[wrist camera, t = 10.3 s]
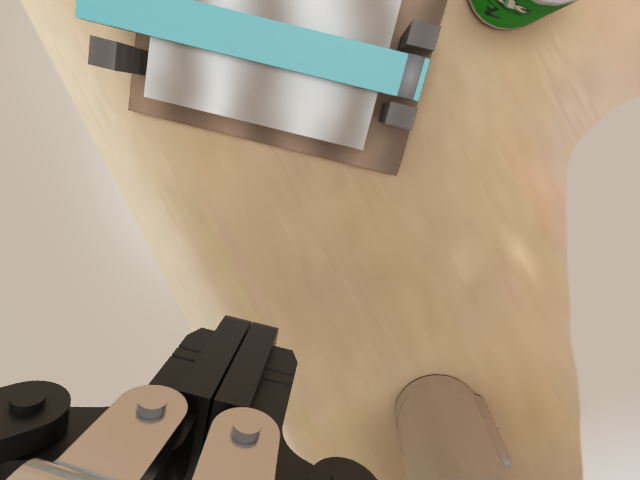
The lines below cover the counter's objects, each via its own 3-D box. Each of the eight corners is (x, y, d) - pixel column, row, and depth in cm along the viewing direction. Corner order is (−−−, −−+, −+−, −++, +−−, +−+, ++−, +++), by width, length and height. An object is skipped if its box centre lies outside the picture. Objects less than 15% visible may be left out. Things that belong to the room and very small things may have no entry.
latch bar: (427, 60, 33) (431, 58, 32) (415, 101, 34) (418, 101, 32) (88, -23, 33) (75, -30, 31) (85, 20, 34) (72, 16, 32)
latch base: (444, -4, 39) (476, -42, 29) (394, 172, 43) (407, 190, 34) (157, -75, 39) (95, -136, 29) (138, 110, 43) (78, 110, 34)
